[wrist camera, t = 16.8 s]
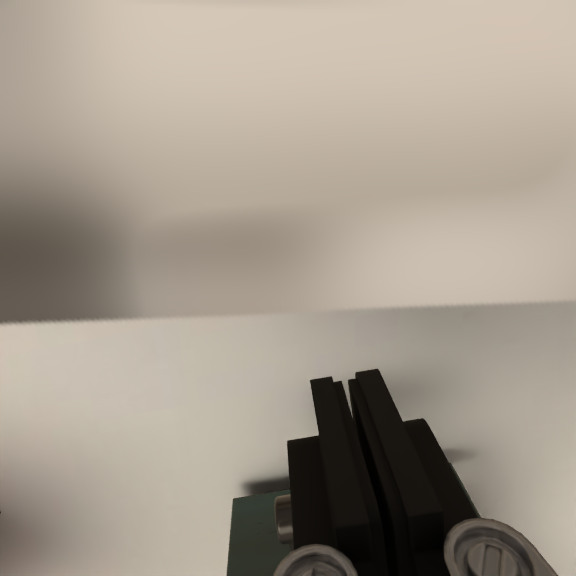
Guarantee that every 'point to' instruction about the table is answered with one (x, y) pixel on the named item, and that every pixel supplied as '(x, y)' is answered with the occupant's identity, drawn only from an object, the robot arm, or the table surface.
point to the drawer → (265, 532)
